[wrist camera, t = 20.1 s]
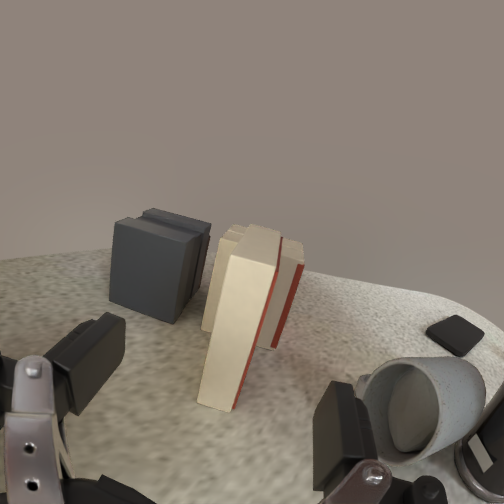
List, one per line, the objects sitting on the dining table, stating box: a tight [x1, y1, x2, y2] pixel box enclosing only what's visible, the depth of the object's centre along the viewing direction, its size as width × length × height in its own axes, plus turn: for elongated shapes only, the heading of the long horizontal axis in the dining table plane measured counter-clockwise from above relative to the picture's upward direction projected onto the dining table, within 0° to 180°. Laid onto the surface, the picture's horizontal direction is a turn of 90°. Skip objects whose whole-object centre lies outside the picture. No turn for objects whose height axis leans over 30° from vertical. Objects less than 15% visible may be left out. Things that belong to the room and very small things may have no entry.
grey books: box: [109, 208, 211, 324], centre depth 30 cm, size 7×9×8 cm
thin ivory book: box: [197, 224, 283, 413], centre depth 21 cm, size 3×8×11 cm, turn 172°
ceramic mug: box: [355, 356, 486, 467], centre depth 18 cm, size 11×8×8 cm
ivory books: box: [201, 224, 304, 351], centre depth 29 cm, size 7×8×9 cm
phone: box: [426, 315, 485, 357], centre depth 38 cm, size 7×1×15 cm
